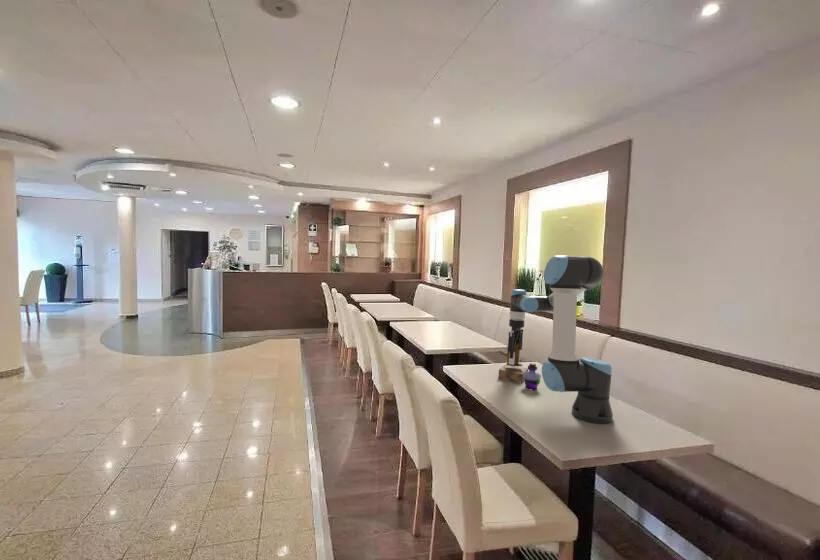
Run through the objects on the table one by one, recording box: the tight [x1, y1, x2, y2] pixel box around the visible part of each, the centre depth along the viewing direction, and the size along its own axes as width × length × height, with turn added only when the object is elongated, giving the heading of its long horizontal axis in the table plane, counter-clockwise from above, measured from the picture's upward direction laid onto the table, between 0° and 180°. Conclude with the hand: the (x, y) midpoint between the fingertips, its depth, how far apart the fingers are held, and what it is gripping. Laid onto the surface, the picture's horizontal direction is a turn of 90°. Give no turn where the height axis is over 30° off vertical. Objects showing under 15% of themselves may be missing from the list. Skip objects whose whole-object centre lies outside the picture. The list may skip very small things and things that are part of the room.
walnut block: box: [498, 364, 529, 384], centre depth 205 cm, size 12×12×5 cm
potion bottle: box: [523, 362, 542, 390], centre depth 190 cm, size 9×9×12 cm
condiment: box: [504, 341, 524, 367], centre depth 205 cm, size 7×8×12 cm
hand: (514, 362), depth 205 cm, fingers closed on condiment, 6 cm apart
